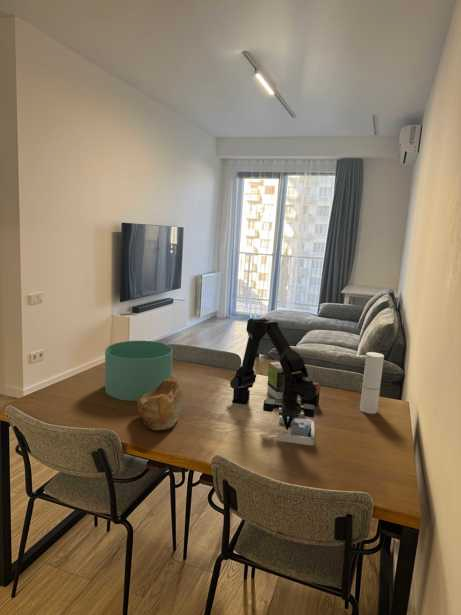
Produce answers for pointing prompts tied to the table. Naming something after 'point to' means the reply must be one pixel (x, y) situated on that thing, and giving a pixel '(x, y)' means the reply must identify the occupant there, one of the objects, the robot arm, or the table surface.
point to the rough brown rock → (161, 405)
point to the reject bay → (297, 438)
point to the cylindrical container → (371, 382)
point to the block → (301, 428)
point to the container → (136, 368)
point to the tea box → (276, 380)
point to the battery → (315, 399)
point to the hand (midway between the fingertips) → (286, 429)
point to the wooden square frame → (301, 415)
